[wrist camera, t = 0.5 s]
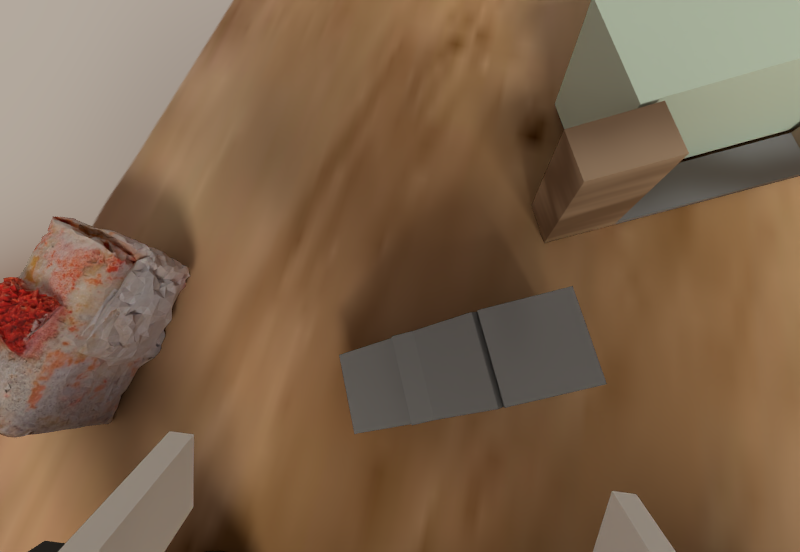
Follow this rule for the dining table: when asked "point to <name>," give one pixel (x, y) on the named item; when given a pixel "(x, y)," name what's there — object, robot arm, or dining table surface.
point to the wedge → (473, 363)
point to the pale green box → (689, 67)
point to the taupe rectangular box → (646, 171)
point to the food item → (80, 326)
